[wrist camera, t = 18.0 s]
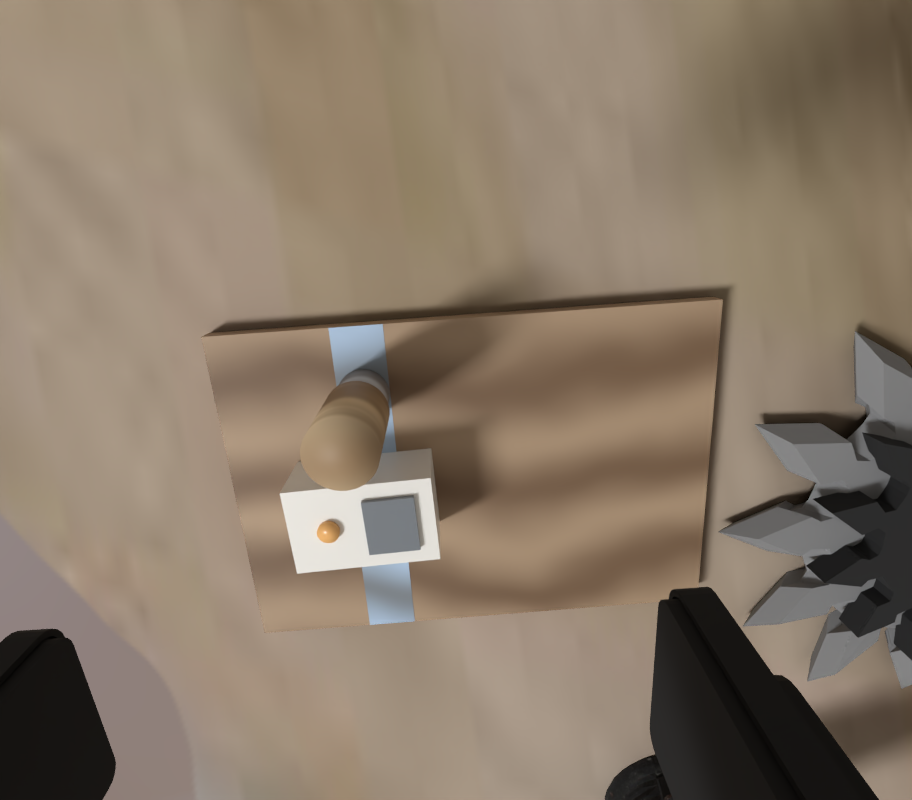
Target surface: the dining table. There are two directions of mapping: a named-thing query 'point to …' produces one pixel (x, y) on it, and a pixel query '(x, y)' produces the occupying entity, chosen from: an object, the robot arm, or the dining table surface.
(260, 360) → the floor panel
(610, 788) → the lantern
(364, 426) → the awl
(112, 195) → the dining table surface
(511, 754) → the dining table surface
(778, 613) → the decorative piece
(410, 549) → the block
